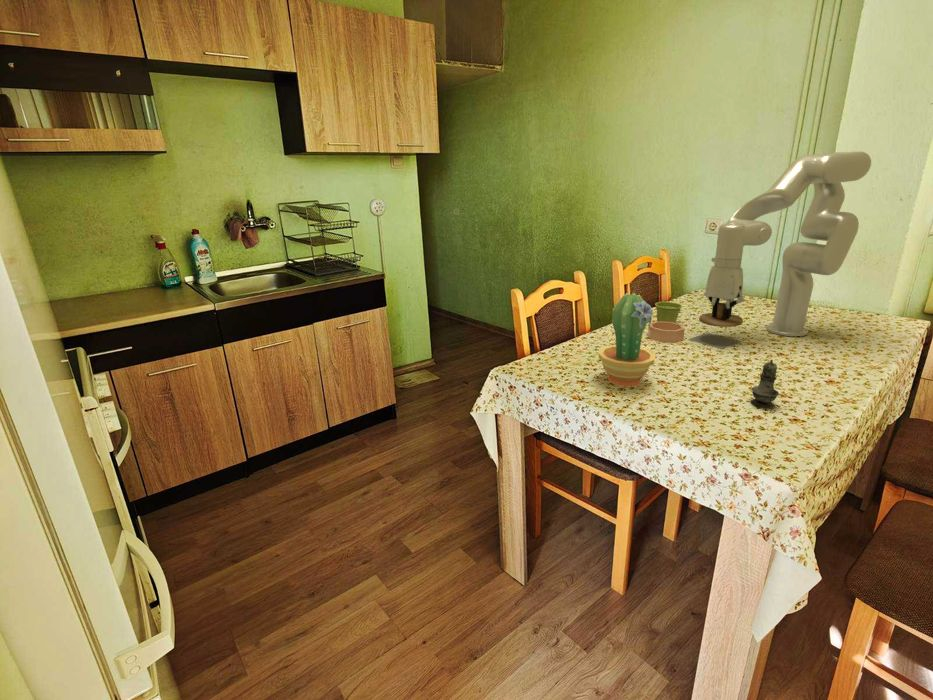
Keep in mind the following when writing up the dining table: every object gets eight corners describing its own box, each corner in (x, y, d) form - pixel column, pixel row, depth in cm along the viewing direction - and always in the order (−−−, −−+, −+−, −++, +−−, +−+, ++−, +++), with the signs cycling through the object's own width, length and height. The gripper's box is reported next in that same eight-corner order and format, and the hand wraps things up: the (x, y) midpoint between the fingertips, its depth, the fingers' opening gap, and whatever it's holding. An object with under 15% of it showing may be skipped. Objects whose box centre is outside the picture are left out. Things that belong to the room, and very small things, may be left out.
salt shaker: (744, 399, 124) (752, 355, 120) (765, 398, 124) (774, 354, 120) (758, 410, 118) (768, 364, 114) (781, 408, 119) (791, 363, 115)
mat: (707, 335, 172) (708, 332, 172) (741, 344, 162) (741, 341, 162) (687, 342, 166) (687, 339, 166) (720, 351, 156) (721, 348, 156)
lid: (713, 312, 170) (715, 296, 168) (750, 320, 160) (753, 303, 158) (691, 320, 164) (692, 304, 162) (728, 329, 154) (730, 312, 151)
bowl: (661, 333, 176) (662, 319, 174) (688, 340, 167) (690, 327, 165) (641, 338, 170) (643, 325, 169) (668, 347, 162) (670, 332, 160)
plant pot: (674, 323, 186) (677, 301, 183) (682, 331, 178) (685, 308, 175) (649, 323, 187) (652, 301, 184) (656, 330, 178) (659, 308, 175)
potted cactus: (599, 390, 131) (606, 300, 122) (593, 368, 145) (599, 287, 137) (658, 392, 129) (670, 301, 120) (646, 370, 143) (655, 287, 135)
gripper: (697, 261, 160) (691, 315, 166) (746, 268, 147) (738, 325, 153) (710, 258, 163) (704, 310, 170) (760, 264, 150) (751, 320, 157)
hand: (720, 317), depth 161 cm, fingers closed on lid, 3 cm apart
